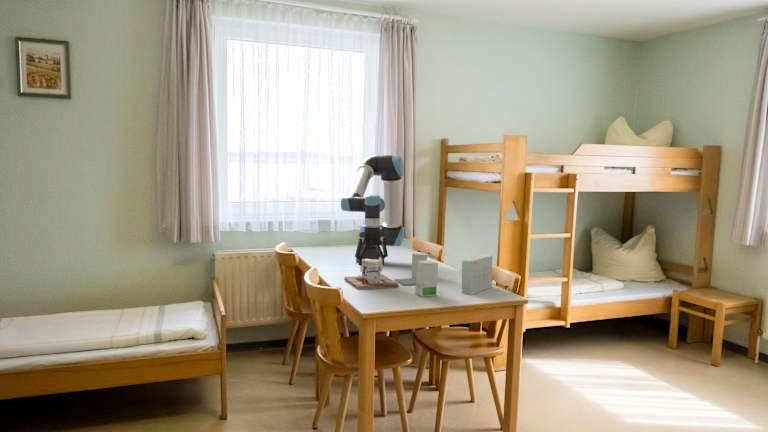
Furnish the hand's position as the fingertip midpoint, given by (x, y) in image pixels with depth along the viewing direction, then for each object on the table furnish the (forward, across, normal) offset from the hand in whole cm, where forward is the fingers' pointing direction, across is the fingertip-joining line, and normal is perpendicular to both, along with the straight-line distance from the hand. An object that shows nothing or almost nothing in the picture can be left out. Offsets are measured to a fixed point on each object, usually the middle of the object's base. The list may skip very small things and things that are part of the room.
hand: (371, 271), depth 267 cm
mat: (+6, +20, -3) cm, 21 cm away
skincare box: (+6, +17, -28) cm, 33 cm away
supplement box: (+6, +30, +8) cm, 32 cm away
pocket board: (+6, 0, 0) cm, 6 cm away
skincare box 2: (+6, +45, -26) cm, 52 cm away
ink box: (+6, 0, 0) cm, 6 cm away
